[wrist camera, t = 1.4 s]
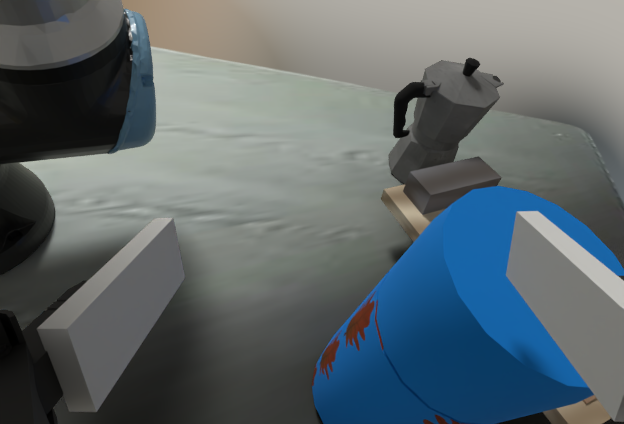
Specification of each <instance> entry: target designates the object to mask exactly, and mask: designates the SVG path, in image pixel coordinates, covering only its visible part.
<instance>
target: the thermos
mask: <svg viewBox="0 0 624 424" xmlns="http://www.w3.org/2000/svg"><path fill="white" fill-rule="evenodd" d="M517 211H538V212H540V213H541V214H542V215H543V216H545V217H546V218H547V219H548V220H550V221H551V222H552V223H553V224H554V225H556V226H557V227H558V228H559V229H561V230H562V231H563V232H564V233H566V234H567V235H568V236H569V237H570V238H572V239H573V240H574V241H575V242H577V243H578V244H579V245H580V246H581V247H583V248H584V249H585V250H586V251H588V252H589V253H590V254H591V255H593V256H594V257H595V258H596V259H597V260H599V261H600V262H601V263H602V264H604V265H605V266H606V267H607V268H609V269H610V270H611V271H612V272H613V273H615V274H616V275H617V276H624V269H623V267H622V266H621V264H620V263H619V261H618V260H617V258H616V257H615V255H614V254H613V253H612V252H611V251H610V250H609V249H608V247H607V246H606V245H605V244H604V243H603V242H602V241H601V240H600V239H599V238H598V237H597V236H596V235H595V234H594V233H593V232H592V231H591V230H590V229H589V228H588V227H587V226H586V225H584V224H583V223H582V222H580V221H579V220H577V219H576V218H575V217H573V216H572V215H570V214H569V213H568V212H566V211H565V210H563V209H562V208H561V207H559V206H558V205H556V204H554V203H552V202H549V201H547V200H545V199H543V198H541V197H538V196H536V195H534V194H532V193H529V192H527V191H523V190H517V189H512V188H507V187H501V186H494V187H487V188H479V189H473V190H471V191H470V192H468V193H467V194H465V195H464V196H462V197H461V198H459V199H458V200H457V201H455V202H454V203H452V204H451V205H450V206H449V207H448V208H446V209H445V210H444V211H443V212H442V213H440V214H439V215H438V216H437V217H436V218H434V219H433V220H432V222H431V223H430V224H429V225H428V226H427V227H426V229H425V230H424V231H423V232H422V233H421V234H420V236H419V237H418V238H417V239H416V240H415V241H414V243H413V244H412V245H411V246H410V247H409V248H408V250H407V251H406V252H405V253H404V254H403V255H402V257H401V258H400V259H399V260H398V261H397V262H396V264H395V265H394V266H393V267H392V268H391V269H390V271H389V272H388V273H387V274H386V275H385V276H384V278H383V279H382V280H381V281H380V282H379V283H378V285H377V286H376V287H375V288H374V289H373V290H372V292H371V293H370V294H369V295H368V296H367V297H366V299H365V300H364V301H363V302H362V303H361V304H360V306H359V307H358V308H357V309H356V310H355V311H354V313H353V314H352V315H351V316H350V317H349V318H348V320H347V321H346V322H345V323H344V324H343V325H342V327H341V328H340V329H339V330H338V331H337V332H336V334H335V335H334V336H333V337H332V339H331V340H330V342H329V343H328V345H327V347H326V348H325V350H324V351H323V353H322V355H321V356H320V358H319V360H318V362H317V363H316V365H315V370H314V375H313V381H312V390H313V397H314V404H315V407H316V409H317V411H318V413H319V415H320V417H321V420H322V422H323V424H496V423H500V422H504V421H508V420H512V419H516V418H520V417H524V416H528V415H532V414H536V413H540V412H544V411H548V410H552V409H556V408H560V407H564V406H568V405H572V404H576V403H578V402H580V401H582V400H584V399H586V398H589V397H591V396H593V395H594V394H593V392H592V391H591V390H590V388H589V387H588V386H587V384H586V383H585V381H584V380H583V379H582V377H581V376H580V375H579V373H578V372H577V371H576V369H575V368H574V367H573V365H572V364H571V363H570V361H569V360H568V359H567V357H566V356H565V354H564V353H563V352H562V350H561V349H560V348H559V346H558V345H557V344H556V342H555V341H554V340H553V338H552V337H551V336H550V334H549V333H548V332H547V330H546V329H545V327H544V326H543V325H542V323H541V322H540V321H539V319H538V318H537V317H536V315H535V314H534V313H533V311H532V310H531V309H530V307H529V306H528V305H527V303H526V302H525V300H524V299H523V298H522V296H521V295H520V294H519V292H518V291H517V290H516V288H515V287H514V286H513V284H512V283H511V282H510V280H509V279H508V278H507V276H506V271H507V265H508V259H509V253H510V247H511V241H512V235H513V230H514V224H515V218H516V212H517Z"/></svg>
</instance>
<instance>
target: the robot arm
mask: <svg viewBox="0 0 624 424" xmlns="http://www.w3.org/2000/svg"><path fill="white" fill-rule="evenodd" d="M155 128H156V99H155V87H154V83H153V64H152V55H151V48H150V42H149V36H148V31H147V27H146V23H145V20H144V19H143V16H142V15H141V14H139V13H137V12H132V11H130V10H128V9H123V5H122V1H121V0H0V274H2V273H4V272H6V271H8V270H10V269H11V268H13V267H15V266H16V265H18V264H19V263H21V262H22V261H23V260H25V259H26V258H27V257H28V256H30V255H31V254H32V253H33V252H34V251H35V250H36V249H37V248H38V247H39V246H40V244H41V243H42V242H43V241H44V239H45V238H46V236H47V235H48V233H49V231H50V229H51V226H52V224H53V220H54V213H55V209H54V203H53V200H52V198H51V195H50V194H49V192H48V190H47V189H46V187H45V185H44V184H43V182H42V181H41V180H40V179H39V178H38V177H37V176H36V175H35V174H34V173H33V172H31V171H30V170H29V169H27V168H26V167H24V166H23V165H22V164H20V163H19V162H28V161H37V160H47V159H56V158H66V157H76V156H85V155H95V154H104V153H108V154H112V153H115V152H117V151H118V150H124V149H130V148H135V147H140V146H144V145H146V144H147V143H148V142H150V140H151V139H152V138H153V136H154V133H155ZM506 276H507V278H508V279H509V280H510V282H511V283H512V284H513V286H514V287H515V288H516V290H517V291H518V292H519V294H520V295H521V296H522V298H523V299H524V300H525V302H526V303H527V305H528V306H529V307H530V309H531V310H532V311H533V313H534V314H535V315H536V317H537V318H538V319H539V321H540V322H541V323H542V325H543V326H544V327H545V329H546V330H547V332H548V333H549V334H550V336H551V337H552V338H553V340H554V341H555V342H556V344H557V345H558V346H559V348H560V349H561V350H562V352H563V353H564V354H565V356H566V357H567V359H568V360H569V361H570V363H571V364H572V365H573V367H574V368H575V369H576V371H577V372H578V373H579V375H580V376H581V377H582V379H583V380H584V381H585V383H586V384H587V386H588V387H589V388H590V390H591V391H592V392H593V394H594V395H595V396H596V398H597V399H598V400H599V402H600V403H601V404H602V406H603V407H604V408H605V410H606V411H607V412H608V414H609V415H610V417H611V418H612V419H613V421H614V422H624V276H617V275H616V274H615V273H613V272H612V271H611V270H610V269H609V268H607V267H606V266H605V265H604V264H602V263H601V262H600V261H599V260H597V259H596V258H595V257H594V256H593V255H591V254H590V253H589V252H588V251H586V250H585V249H584V248H583V247H581V246H580V245H579V244H578V243H577V242H575V241H574V240H573V239H572V238H570V237H569V236H568V235H567V234H566V233H564V232H563V231H562V230H561V229H559V228H558V227H557V226H556V225H554V224H553V223H552V222H551V221H550V220H548V219H547V218H546V217H545V216H543V215H542V214H541V213H540V212H538V211H517V212H516V218H515V224H514V230H513V235H512V241H511V247H510V253H509V259H508V265H507V271H506ZM184 279H185V274H184V269H183V264H182V259H181V254H180V249H179V244H178V239H177V234H176V229H175V224H174V219H173V218H154V219H153V220H152V221H151V222H150V223H149V224H148V225H147V226H146V227H145V228H144V229H143V230H142V231H141V232H139V233H138V234H137V235H136V236H135V237H134V238H133V239H132V240H131V241H130V242H129V243H128V244H127V245H126V246H124V247H123V248H122V249H121V250H120V251H119V252H118V253H117V254H116V255H115V256H114V257H113V258H112V259H111V260H110V261H108V262H107V263H106V264H105V265H104V266H103V267H102V268H101V269H100V270H99V271H98V272H97V273H96V274H95V275H93V276H92V277H91V278H90V279H89V280H88V281H83V282H81V283H79V284H78V285H76V286H74V287H72V288H70V289H69V290H67V291H66V292H65V293H64V294H63V295H62V296H61V297H60V298H59V299H57V302H54V303H53V304H52V305H51V306H50V307H49V308H47V309H48V310H47V311H44V312H43V313H42V314H41V315H40V316H39V317H37V318H36V319H35V320H34V321H33V322H32V323H31V324H30V325H29V326H27V327H26V328H25V329H24V330H23V331H21V329H20V326H19V324H18V321H17V319H16V317H15V315H14V313H13V312H12V311H8V310H0V424H58V422H57V417H56V414H55V412H54V409H53V407H54V406H55V404H56V403H57V402H58V401H59V399H60V398H61V397H62V395H63V397H64V400H65V402H66V405H67V408H68V410H69V412H97V411H98V409H99V408H100V406H101V405H102V403H103V402H104V400H105V399H106V397H107V395H108V394H109V392H110V391H111V389H112V388H113V386H114V385H115V383H116V382H117V380H118V379H119V377H120V376H121V374H122V373H123V371H124V370H125V368H126V367H127V365H128V364H129V362H130V361H131V359H132V358H133V356H134V355H135V353H136V352H137V350H138V348H139V347H140V345H141V344H142V342H143V341H144V339H145V338H146V336H147V335H148V333H149V332H150V330H151V329H152V327H153V326H154V324H155V323H156V321H157V320H158V318H159V317H160V315H161V314H162V312H163V311H164V309H165V308H166V306H167V305H168V303H169V302H170V300H171V298H172V297H173V295H174V294H175V292H176V291H177V289H178V288H179V286H180V285H181V283H182V282H183V280H184Z"/></svg>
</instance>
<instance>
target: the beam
mask: <svg viewBox="0 0 624 424" xmlns="http://www.w3.org/2000/svg"><path fill="white" fill-rule="evenodd" d="M501 178H502V177H501V176H500V175H499V174H497V173H496V172H495V171H494V170H493V169H492V168H491V167H490V166H489V165H487V164H486V163H485V162H484V161H483V160H482V159H481V158H480V157H474V158H470V159H465V160H461V161H456V162H452V163H447V164H442V165H438V166H433V167H429V168H424V169H420V170H415V171H411V172H410V173H409V176H408V179H407V181H406V184H405V185H400V186H396V187H392V188H387V189H384V191H383V194H382V197H381V200H382V201H383V203H384V204H385V205H386V207H387V208H388V209H389V210H390V212H391V213H392V214H393V216H394V217H395V218H396V220H397V221H398V222H399V224H400V225H401V226H402V228H403V229H404V230H405V232H406V233H407V234H408V235H409V237H410V238H411V239H412V241H413V242H414V241H415V240H416V239H417V238H418V237H419V236H420V234H421V233H422V232H423V231H424V230H425V229H426V227H427V226H428V225H429V224H430V223H431V222H432V220H433V219H434V218H436V217H437V216H438V215H439V214H440V213H442V212H443V211H444V210H445V209H446V208H448V207H449V206H450V205H451V204H452V203H454V202H455V201H457V200H458V199H459V198H461V197H462V196H464V195H465V194H467V193H468V192H470V191H471V190H473V189H479V188H487V187H494V186H497V185H498V183H499V181H500V180H501ZM543 413H544V414H545V416H546V417H547V418H548V420H549V421H550V422H551V424H602V423H604V422H606V421H607V420H609V419H611V417H610V415H609V414H608V412H607V411H606V410H605V408H604V407H603V406H602V404H601V403H600V402H599V400H598V399H597V398H596V396H595V395H593V396H591V397H589V398H586V399H584V400H582V401H580V402H578V403H576V404H572V405H568V406H564V407H560V408H556V409H552V410H548V411H544V412H543Z"/></svg>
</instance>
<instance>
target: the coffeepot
mask: <svg viewBox="0 0 624 424" xmlns="http://www.w3.org/2000/svg"><path fill="white" fill-rule="evenodd" d="M479 65H480V63H479V62H478V61H477V60H475V59H472V58H468V59H466V62H465V64H461V63H455V62H449V61H442V60H441V61H439V62H437V63H435V64H434V65H432V66H430V67H428V68H426V69H425V72H424V76H423V80H422V81H421V82H412V83H410V84H409V85H407V86H406V87H405V88H404V89H403V90H401V91H400V92H399V93H398V94H397V95H396V97H395V101H394V128H393V135H394V136H395V138H400V139H399V141H398V142H397V144H396V145H395V146H394V148H393V149H392V151H391V152H390V153H389V166H390V169H391V173H392V174H393V175H394V176H395V177H396V178H397V179H398V180H399V181H400V182H402V183H403V184H406V181H407V179H408V176H409V173H410V172H411V171H415V170H420V169H424V168H429V167H433V166H438V165H442V164H447V163H452V162H453V161H454V159H455V156H456V153H457V150H458V148H459V147H458V143H459V142H460V141H461V140H462V139H463V138H464V137H466V136H467V135H468V134H469V133H470V131H471V130H472V129H473V128H474V127H475V126H476V125H477V123H478V122H479V121H480V120H481V119H482V118H483V116H484V115H485V114H486V113H487V112H488V111H489V110H490V108H491V107H492V106H493V105H494V104H495V103H496V102H497V100H498V99H499V98H500V96H499V94H498V91H497V89H496V88H497V87H499V86H501V85H503V84H504V83H503V82H502V83H501V81H500V79H499V78H498V77H497V76H493V75H492V74H487V73H481V72H479V71H478V70H476V69H477V68H478V67H479ZM413 98H418V99H417V103H416V107H415V111H414V119H415V120H414V122H413V124H411V125H410V126H409V127H408V128H407V130H403V127H404V125H405V122H406V119H405V115H406V111H407V108H408V103H409V101H410V100H411V99H413Z"/></svg>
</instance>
